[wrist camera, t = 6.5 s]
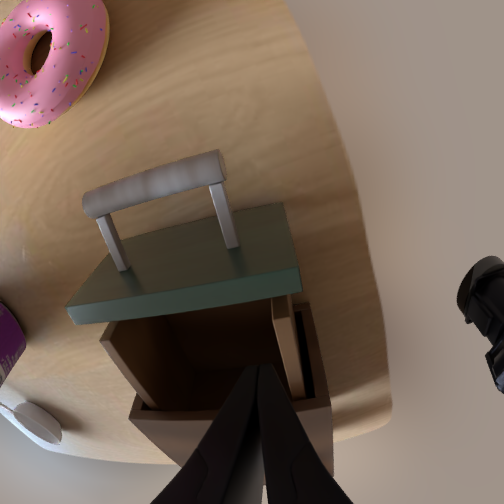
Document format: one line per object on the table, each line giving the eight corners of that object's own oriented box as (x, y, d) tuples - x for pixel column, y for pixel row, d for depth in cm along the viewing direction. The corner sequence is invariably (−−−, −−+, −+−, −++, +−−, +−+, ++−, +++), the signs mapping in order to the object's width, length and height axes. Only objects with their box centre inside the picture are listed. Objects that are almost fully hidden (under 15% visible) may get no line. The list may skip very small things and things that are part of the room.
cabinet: (160, 325, 24) (127, 418, 15) (309, 301, 22) (331, 405, 14) (213, 414, 30) (205, 486, 22) (322, 401, 29) (333, 476, 20)
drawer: (97, 180, 17) (23, 226, 10) (266, 129, 16) (274, 145, 9) (185, 369, 25) (169, 441, 18) (310, 353, 24) (322, 431, 17)
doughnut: (4, 127, 16) (-30, 137, 12) (24, 6, 10) (-8, 0, 7) (107, 124, 16) (72, 131, 13) (136, -22, 11) (110, -45, 8)
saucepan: (65, 436, 41) (60, 451, 37) (-4, 391, 37) (-12, 404, 33) (66, 420, 36) (59, 437, 33) (-13, 367, 32) (-22, 381, 29)
